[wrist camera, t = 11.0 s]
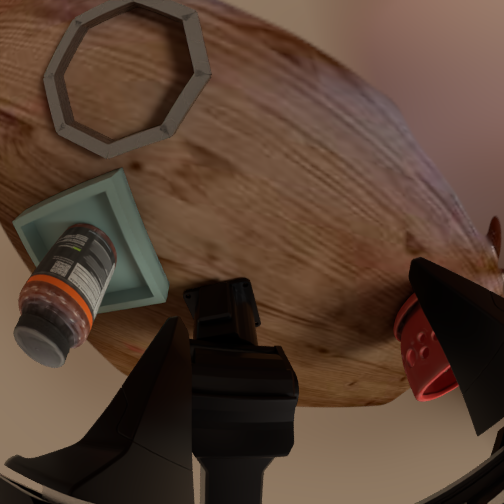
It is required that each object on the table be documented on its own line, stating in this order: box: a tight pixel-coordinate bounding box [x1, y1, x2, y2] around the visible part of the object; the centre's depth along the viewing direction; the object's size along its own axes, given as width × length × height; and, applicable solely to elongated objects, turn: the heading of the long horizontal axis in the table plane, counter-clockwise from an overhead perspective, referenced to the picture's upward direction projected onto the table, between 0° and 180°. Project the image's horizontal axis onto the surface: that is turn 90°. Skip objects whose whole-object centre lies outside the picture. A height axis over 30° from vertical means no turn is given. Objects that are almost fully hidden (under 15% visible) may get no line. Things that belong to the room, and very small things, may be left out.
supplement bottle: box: [14, 223, 117, 368], centre depth 17 cm, size 6×6×11 cm
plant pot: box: [393, 292, 459, 402], centre depth 27 cm, size 13×13×12 cm
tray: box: [12, 168, 169, 314], centre depth 21 cm, size 12×12×2 cm
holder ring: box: [43, 0, 212, 159], centre depth 14 cm, size 12×12×2 cm
